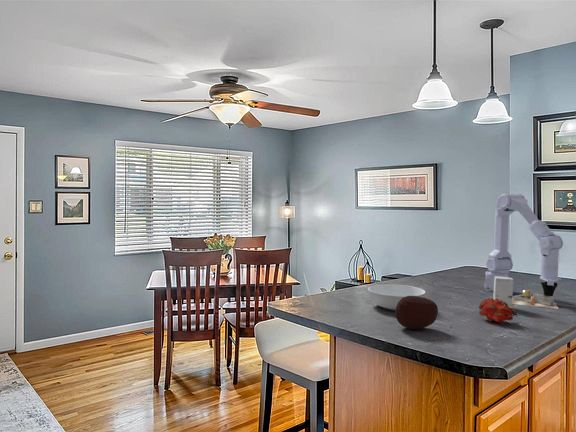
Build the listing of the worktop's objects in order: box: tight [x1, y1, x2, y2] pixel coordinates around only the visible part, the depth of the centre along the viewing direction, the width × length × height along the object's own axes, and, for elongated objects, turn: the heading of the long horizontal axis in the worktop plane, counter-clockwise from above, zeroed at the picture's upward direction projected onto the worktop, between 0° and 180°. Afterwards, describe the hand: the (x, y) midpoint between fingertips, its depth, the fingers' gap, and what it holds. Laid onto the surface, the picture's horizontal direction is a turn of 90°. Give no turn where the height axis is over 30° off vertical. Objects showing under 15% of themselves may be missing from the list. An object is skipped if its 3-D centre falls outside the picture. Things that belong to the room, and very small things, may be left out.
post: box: [521, 289, 532, 299], centre depth 178 cm, size 3×3×4 cm
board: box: [512, 295, 559, 310], centre depth 176 cm, size 17×16×1 cm
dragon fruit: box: [478, 297, 518, 325], centre depth 148 cm, size 8×8×12 cm
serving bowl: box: [367, 283, 427, 311], centre depth 166 cm, size 21×21×7 cm
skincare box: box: [492, 276, 514, 309], centre depth 165 cm, size 6×4×12 cm
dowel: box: [531, 297, 535, 305], centre depth 170 cm, size 1×1×3 cm
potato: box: [394, 296, 439, 330], centre depth 138 cm, size 11×13×10 cm
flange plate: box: [513, 293, 555, 305], centre depth 176 cm, size 14×7×3 cm, turn 32°
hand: (548, 300), depth 174 cm, fingers closed
